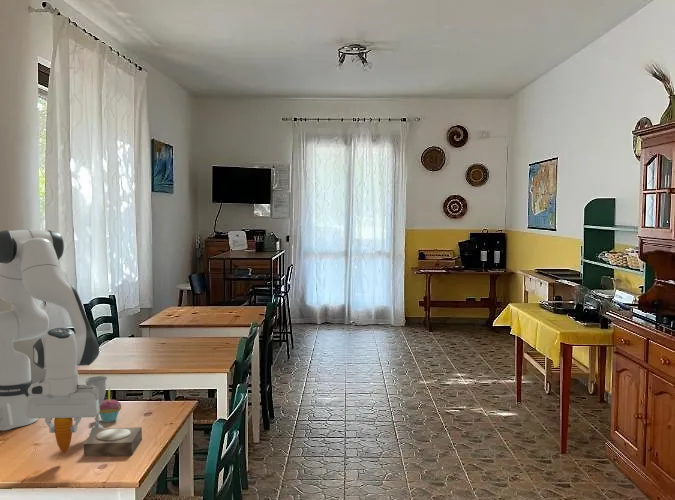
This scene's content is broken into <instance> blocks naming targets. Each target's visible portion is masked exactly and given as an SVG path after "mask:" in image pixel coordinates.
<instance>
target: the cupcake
mask: <svg viewBox="0 0 675 500" xmlns="http://www.w3.org/2000/svg"><path fill="white" fill-rule="evenodd" d="M99 408H100V411H99V417H100V420H101V421H102V422H103V423H112V422H114V421H115V422H116V420H117V418H118V415H119V412H120V411H121V409H122V404H121V402H120V401H119V400H116V399H111V389H110V387H108V389H107V399H104V400H103V402H102V404H101V406H100V407H99Z"/></svg>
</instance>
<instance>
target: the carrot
mask: <svg viewBox="0 0 675 500" xmlns="http://www.w3.org/2000/svg"><path fill="white" fill-rule="evenodd" d="M53 419H54V420H53V425H54V427H55V433H54V435H55V436H54V437H55V439H56V440H55V441H56V443H57V446H58V448H59V450H60V452H61V453H62V454H63V455H65V454H66V453H67V452H68V450H69V448H70V444H71V441H72V436H73V432H70V431H71V429H70V427H71V426H72V425H74V424H73V422H74V418H53Z"/></svg>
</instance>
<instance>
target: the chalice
mask: <svg viewBox="0 0 675 500" xmlns="http://www.w3.org/2000/svg"><path fill="white" fill-rule="evenodd" d="M107 379H108V378H107V376H104V375H101V376H90V377H87V378H85V379H84V382H85V385H94V386H95V387H97V388H98V389H99V398H98V400H99V407H100V406H101V404H102V402H103V400H105V398H106V392H107V387H106V386H107V384H106V382H107ZM100 420H101V417H100V414H99V413H98V414H97V415H96V416H95V417H94V421H95V424H94V425H93V426H92V427H91V430H90V432H89V435H90V436H91V435H92V434H93V432H94V431H95V430H96V429H104V428H105V427H104V425H102V424H100Z"/></svg>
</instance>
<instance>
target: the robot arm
mask: <svg viewBox="0 0 675 500" xmlns="http://www.w3.org/2000/svg"><path fill="white" fill-rule="evenodd" d="M64 244H65V243H64V239H63V236H62V235H61V234H60V233H59V232H57V231H55V230H49V229H48V230H42V229H16V230H7V229H6V230H0V300H2V301H3V302H6V303H8V304H10V305H11V308H10V309H9V310H1V311H0V431H9V430H12V429H15V428H19V427H25V426H27V425H31V424H33V423H35V422H37V421H38V419H44V423H45V424H46V426H47V427H48V428H49V433H50V434H55V427H54V422H53V421H52V420H53V419H55V418H72V419H73V422H74V424H73V425H72V426H71V427H70V429H71V431H70V432H72V433H77V432H78V425H79V423H80V421H81V419H82V418H95V417H96V415H97V414H98V413H99V411H100V408H99V400H98V398H99V389H98V388H97V387H95V386H94V385H86V384H79V371H78V368H77V366H79V367H80V366H90V365H91V364H93V362H95V361H96V360H97V358H98V357H99V355H100V344H99V342H98V339H97V337H96V335H95V333H94V331H93V329H92V327H91V325H90V321H89V318H88V317H87V314H86V311H85V308H84V305H83V303H82V300H81V298H80V296H79V293H78V291H77V289H76V287H75V286H74V285H73V284H70V283H68V281H66V279H65V278H64V276H63V275H62V273H61V267H60V263H59V260H60V259H61V258H62V257H63V255H64V249H65V245H64ZM35 299H36V300H38V301H41V302H44V303H45V302H46V303H48V304H54V305H57V306H59V307H61V308H63V309H64V310H65V311H66V312H67V313H68V316H69V318H70V322H71V323H72V327H73V329H74V331H73V330H72V329H70V328H66V327H56V328H52V329H49V327H50V318H49V315H48V314H47V312H46V311H45V310H44V309H43V308H42V307H40V306H39V305H38V304H37V302H36V300H35ZM44 335H45V336H44ZM41 336H42V337H41ZM39 337H40V338H39ZM36 338H38V339H37V340H36V341H35V343H34V344H33V346H32V352H33V353H32V354H33V355H32V357H33V358H32V359H33V364H34V365H35V366H37V367H39V368H40V369H43V370H46V371H45V376H44V377H45V378H44V379H41V380H39V381H36V382H35V383H33V379H32V371H31V370H32V369H31V366H32V365H31V359H30V357H29V356H28V355H27V354H25V353H24V352H22V351H18V350H16V349H15V347H14V343H16V342H20V341H21V342H22V341H28V340H33V339H36Z"/></svg>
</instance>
